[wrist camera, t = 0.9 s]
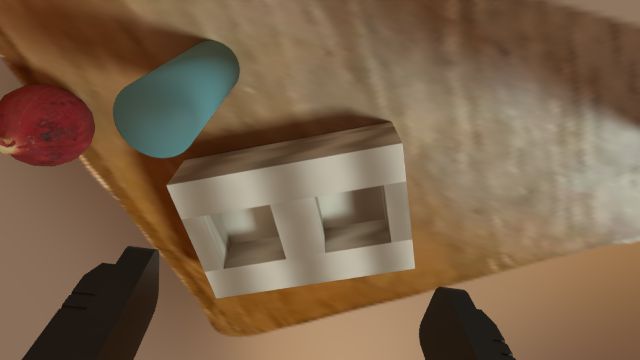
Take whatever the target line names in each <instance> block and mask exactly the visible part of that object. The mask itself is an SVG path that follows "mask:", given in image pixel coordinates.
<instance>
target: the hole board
mask: <svg viewBox="0 0 640 360" xmlns="http://www.w3.org/2000/svg"><path fill="white" fill-rule="evenodd" d="M166 186H167V188H168V191H169V193H170V195H171V197H172V200H173V202H174V204H175V206H176V209H177V211H178V213H179V215H180V218H181V220H182V222H183V224H184V227H185V229H186V231H187V233H188V235H189V238H190V240H191V242H192V244H193V247H194V249H195V251H196V253H197V256H198V258H199V260H200V262H201V265H202V267H203V269H204V271H205V274H206V276H207V278H208V280H209V283H210V285H211V287H212V289H213V291H214V294H215V296H216V298H222V297H229V296H236V295H242V294H249V293H255V292H262V291H269V290H275V289H282V288H289V287H295V286H302V285H309V284H315V283H322V282H329V281H335V280H342V279H348V278H355V277H362V276H368V275H375V274H382V273H388V272H395V271H402V270H408V269H415V264H414V254H413V244H412V234H411V224H410V214H409V204H408V194H407V184H406V175H405V165H404V155H403V145H402V141H401V139H400V137H399V135H398V133H397V131H396V129H395V127H394V125H393V123H392V122H388V123H382V124H377V125H371V126H366V127H361V128H355V129H350V130H344V131H339V132H334V133H328V134H323V135H317V136H312V137H307V138H301V139H296V140H290V141H285V142H280V143H274V144H269V145H263V146H258V147H253V148H247V149H242V150H236V151H231V152H226V153H220V154H215V155H209V156H204V157H199V158H193V159H188V160H184V161H183V163H182V164H181V166H180V167H179V168H178V170H177V171H176V173H175V174H174V175H173V177H172V178H171V180H170V181H169V182H168V184H167V185H166Z"/></svg>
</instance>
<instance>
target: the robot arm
mask: <svg viewBox="0 0 640 360" xmlns="http://www.w3.org/2000/svg"><path fill="white" fill-rule="evenodd" d="M158 291H159V251H158V250H156V249H148V248H140V247H132V246H128V247H127V248H126V249H125V250H124V252H123V254H122V255H121V257H120V258H119V260H118V261H117V263H116V264H107V263H102V264H100V265H99V266H97V267H96V268H94V269H93V270H91V271H90V272H88V273H87V274H85V275H84V276H83V277H82V279H81V280H80V281H79V283H78V284H77V285H76V287H75V288H74V289H73V291H72V294H71V295H69V296H68V298H67V299H66V300H65V302H64V303H63V305H62V307H61V309H59V310H58V311H57V313H56V314H55V316H54V317H53V318H52V319H51V321H50V322H49V323H48V325H47V326H46V328H45V329H44V330H43V332H42V333H41V334H40V336H39V337H38V338H37V340H36V341H35V342H34V344H33V345H32V347H31V348H30V349H29V351H28V352H27V353H26V355H25V356H24V358H23V359H22V360H133V359H134V357H135V355H136V353H137V351H138V348H139V346H140V344H141V341H142V339H143V337H144V335H145V332H146V330H147V328H148V326H149V323H150V321H151V319H152V317H153V314H154V311H155V308H156V304H157V299H158ZM419 339H420V345H421V348H422V351H423V354H424V357H425V360H516V359H515V358H513V356H512V352H511V351H510V349H509V347H508V345H507V344H505V340H504V338H503V337H502V335H501V333H500V331H499V330H498V328H497V326H496V324H494V322H493V321H492V320H491V319H490V318H489V317H488V316H487V315H486V314H485V313H484V312H483V311H482V310H479V309H476V307H475V305H474V304H473V302H472V300H471V298H470V296H469V294H468V293H467V292H466V291H465V290H461V289H454V288H446V287H438V288H437V289H436V290H435V292H434V294H433V297H432V299H431V301H430V304H429V306H428V308H427V310H426V312H425V314H424V317H423V319H422V321H421V324H420V329H419Z"/></svg>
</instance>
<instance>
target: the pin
mask: <svg viewBox="0 0 640 360" xmlns="http://www.w3.org/2000/svg"><path fill="white" fill-rule="evenodd" d="M239 73H240V68H239V63H238V60H237V58H236V56H235V54H234V53H233V52H232V50H231V49H230V48H228V47H227V46H226V45H224V44H222V43H220V42H217V41H203V42H201V43H198V44H197V45H195V46H193V47H192V48H190V49H188V50H187V51H185V52H183V53H182V54H180V55H178V56H177V57H175V58H173V59H171V60H170V61H168V62H166V63H165V64H163V65H161V66H160V67H158V68H156V69H155V70H153V71H151V72H150V73H148V74H146V75H145V76H143V77H141V78H139V79H138V80H136V81H134V82H133V83H131V84H129V85H128V86H126V87H125V88H124V89H122V90H121V91H120V93H119V94H118V95H117V97H116V99H115V102H114V107H113V117H114V122H115V125H116V127H117V129H118V131H119V133H120V135H121V136H122V137H123V139H124V140H125V141H126V142H127V143H128V144H129V145H130V146H131V147H133V148H134V149H135V150H137V151H139V152H141V153H143V154H145V155H148V156H151V157H156V158H170V157H174V156H177V155H179V154H181V153H183V152H184V151H185V150H187V149H188V147H189V146H190V145H191V144H192V142H193V141H194V140H195V138H196V137H197V136H198V134H199V133H200V132H201V130H202V129H203V128H204V126H205V125H206V123H207V122H208V121H209V119H210V118H211V117H212V115H213V114H214V113H215V111H216V110H217V109H218V107H219V106H220V105H221V103H222V102H223V100H224V99H225V98H226V96H227V95H228V94H229V92H230V91H231V90H232V88H233V87H234V86H235V84H236V83H237V81H238V78H239Z"/></svg>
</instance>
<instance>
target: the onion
mask: <svg viewBox="0 0 640 360" xmlns="http://www.w3.org/2000/svg"><path fill="white" fill-rule="evenodd" d="M94 132H95V124H94V120H93V115H92V112H91V111H90V110H89V108H88V107H87V106H86V104H85V103H84V102H83V101H82V100H81V99H79V98H78V97H77V96H75V95H74V94H72V93H71V92H69V91H67V90H64V89H61V88H58V87H55V86H53V85H41V84H34V85H27V86H23V87H21V88H19V89H17V90H14V91H12V92H10V93H8V94H6V95H5V96H4V97H3V98H2V99H1V101H0V152H1V153H2V154H3V155H5V154H10V155H11V156H12V157H14V158H15V159H17V160H19V161H22V162H25V163H27V164H30V165H34V166H56V165H60V164H63V163H67V162H70V161H72V160H74V159H76V158H78V157H79V156H80V155H81V154H82V153H83V152H84V151H85V150H86V149H87V148H88V146H89V145H90V144H91V142H92V139H93V135H94Z"/></svg>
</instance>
